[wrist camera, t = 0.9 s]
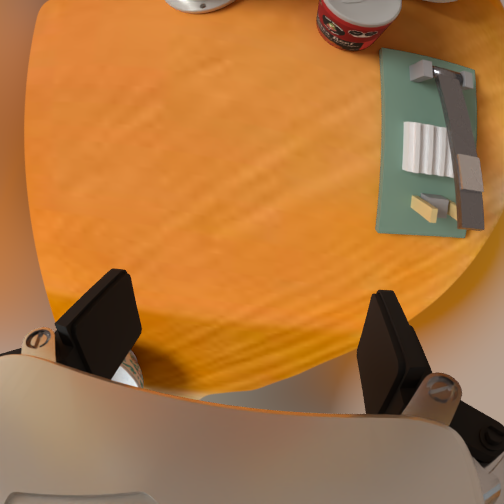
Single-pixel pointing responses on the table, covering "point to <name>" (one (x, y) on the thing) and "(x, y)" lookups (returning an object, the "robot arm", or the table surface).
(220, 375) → the table surface
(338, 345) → the table surface
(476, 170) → the grey hinged clamp lever
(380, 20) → the canned food
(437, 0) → the cereal bowl
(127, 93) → the table surface
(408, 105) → the clamp board
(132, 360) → the chinaware
